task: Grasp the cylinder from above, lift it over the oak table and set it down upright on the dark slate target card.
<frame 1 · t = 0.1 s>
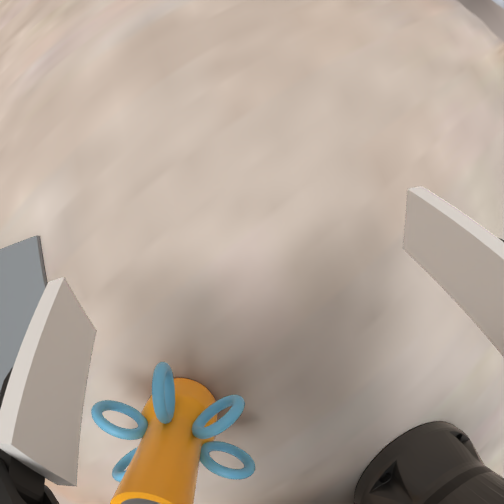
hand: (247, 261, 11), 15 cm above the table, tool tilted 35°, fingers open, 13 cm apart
target card: (6, 330, 24), on the table
cylinder: (183, 405, 25), on the table
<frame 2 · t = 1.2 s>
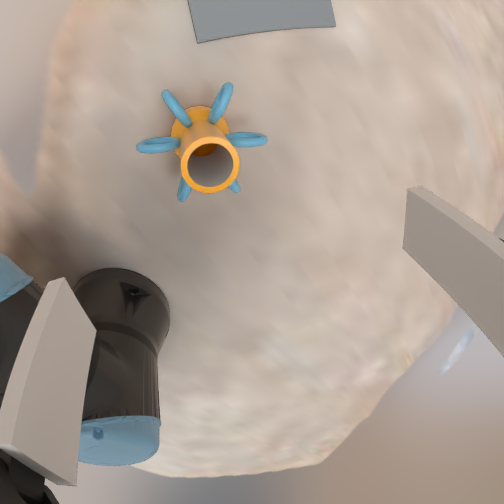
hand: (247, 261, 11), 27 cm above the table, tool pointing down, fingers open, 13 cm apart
cylinder: (198, 130, 33), on the table
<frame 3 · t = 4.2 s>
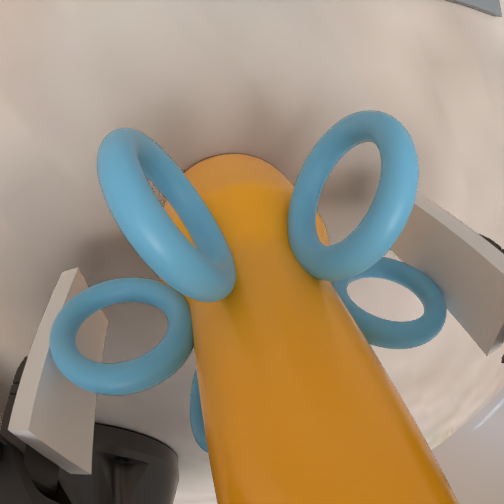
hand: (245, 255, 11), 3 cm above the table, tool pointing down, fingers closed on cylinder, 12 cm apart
cylinder: (230, 214, 14), on the table, touching gripper
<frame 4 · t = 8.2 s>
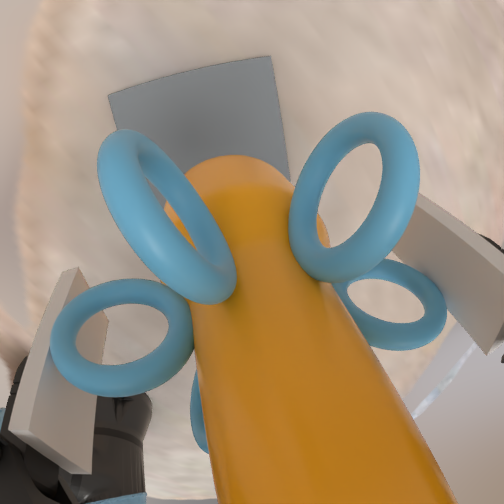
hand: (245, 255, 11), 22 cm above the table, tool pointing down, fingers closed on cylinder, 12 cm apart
target card: (203, 137, 30), on the table
cylinder: (230, 215, 14), point 19 cm above the table, touching gripper
when the fingers open (5 cm above the table, at t = 12.5 s): cylinder drops 1 cm, resting on target card.
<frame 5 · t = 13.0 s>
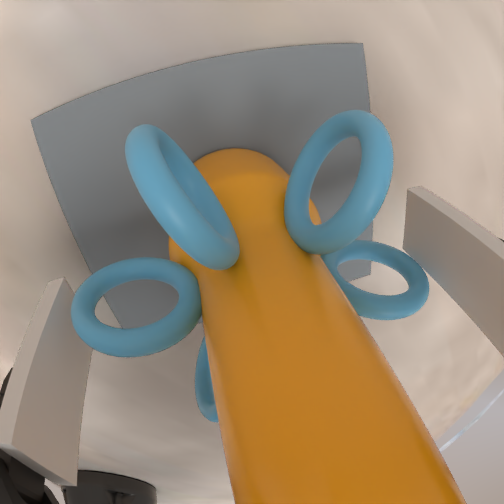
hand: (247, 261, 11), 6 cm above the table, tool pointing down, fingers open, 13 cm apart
target card: (225, 200, 16), on the table
cylinder: (232, 204, 15), resting on target card
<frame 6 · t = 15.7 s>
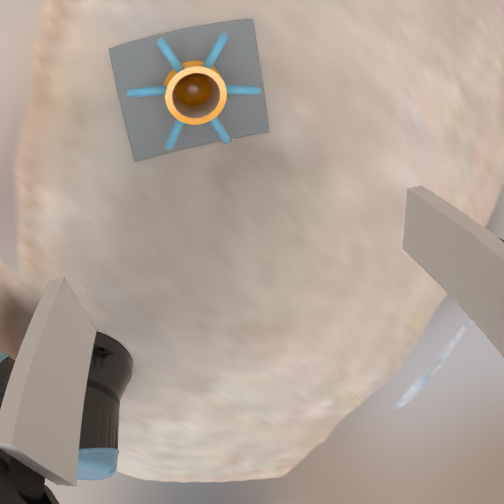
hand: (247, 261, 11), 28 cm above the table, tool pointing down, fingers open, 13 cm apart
target card: (190, 86, 31), on the table
cylinder: (193, 87, 31), resting on target card
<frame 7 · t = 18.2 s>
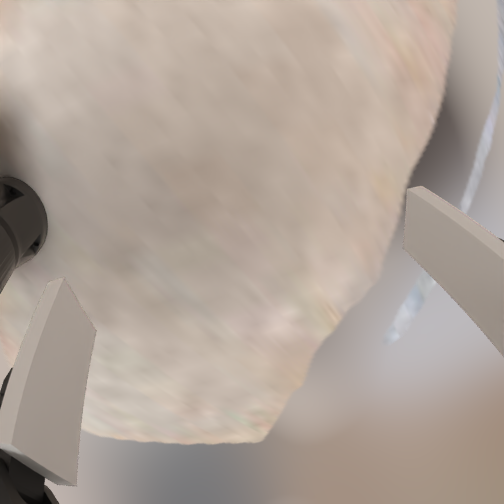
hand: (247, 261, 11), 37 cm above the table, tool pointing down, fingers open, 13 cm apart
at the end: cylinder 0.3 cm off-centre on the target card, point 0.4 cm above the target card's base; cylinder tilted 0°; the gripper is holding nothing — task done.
